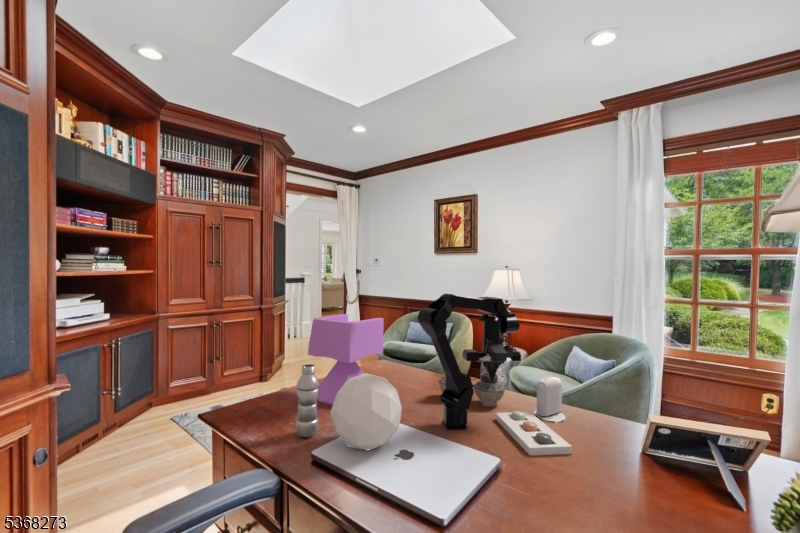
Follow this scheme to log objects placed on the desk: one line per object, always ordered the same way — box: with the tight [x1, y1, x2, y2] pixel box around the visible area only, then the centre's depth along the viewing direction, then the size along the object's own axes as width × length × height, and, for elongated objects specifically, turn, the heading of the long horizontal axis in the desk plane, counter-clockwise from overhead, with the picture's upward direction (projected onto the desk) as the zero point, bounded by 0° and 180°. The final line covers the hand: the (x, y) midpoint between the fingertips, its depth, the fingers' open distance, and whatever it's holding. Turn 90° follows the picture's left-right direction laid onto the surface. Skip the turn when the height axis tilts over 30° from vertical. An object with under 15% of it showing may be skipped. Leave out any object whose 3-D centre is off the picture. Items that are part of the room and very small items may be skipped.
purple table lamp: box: [307, 313, 385, 406], centre depth 137 cm, size 20×20×30 cm
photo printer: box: [536, 376, 563, 417], centre depth 126 cm, size 10×4×12 cm, turn 123°
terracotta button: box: [523, 421, 537, 432], centre depth 109 cm, size 4×4×3 cm
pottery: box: [437, 372, 506, 408], centre depth 137 cm, size 11×25×12 cm, turn 67°
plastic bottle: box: [294, 363, 320, 438], centre depth 105 cm, size 6×7×20 cm
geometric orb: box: [329, 372, 403, 451], centre depth 100 cm, size 19×20×20 cm
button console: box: [495, 411, 573, 456], centre depth 109 cm, size 12×24×2 cm, turn 7°
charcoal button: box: [536, 433, 551, 445], centre depth 101 cm, size 4×4×3 cm
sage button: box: [511, 410, 525, 421], centre depth 117 cm, size 4×4×3 cm
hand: (491, 380), depth 122 cm, fingers closed
